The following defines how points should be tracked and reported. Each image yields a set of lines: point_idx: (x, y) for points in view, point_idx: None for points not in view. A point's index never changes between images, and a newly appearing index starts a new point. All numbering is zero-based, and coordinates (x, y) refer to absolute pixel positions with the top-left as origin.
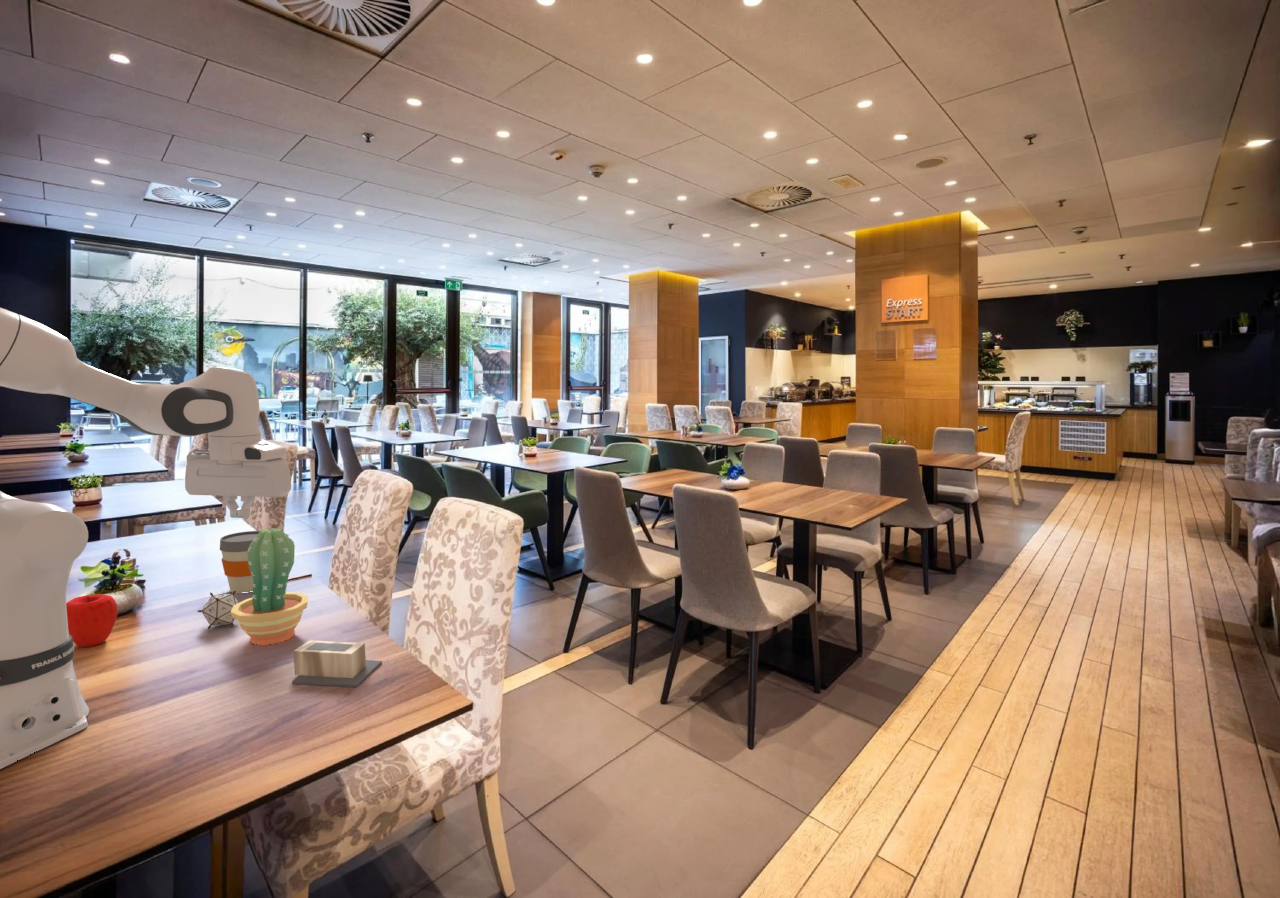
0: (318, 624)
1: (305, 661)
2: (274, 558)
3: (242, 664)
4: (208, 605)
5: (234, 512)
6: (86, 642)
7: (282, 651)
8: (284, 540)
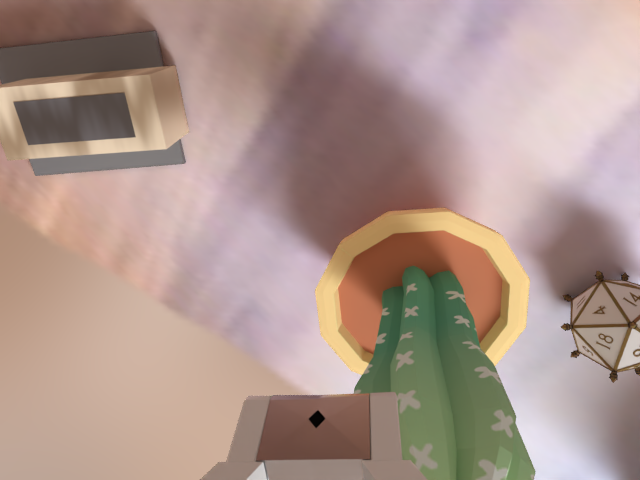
0: None
1: (128, 73)
2: None
3: (369, 104)
4: None
5: (345, 431)
6: None
7: (323, 189)
8: None
